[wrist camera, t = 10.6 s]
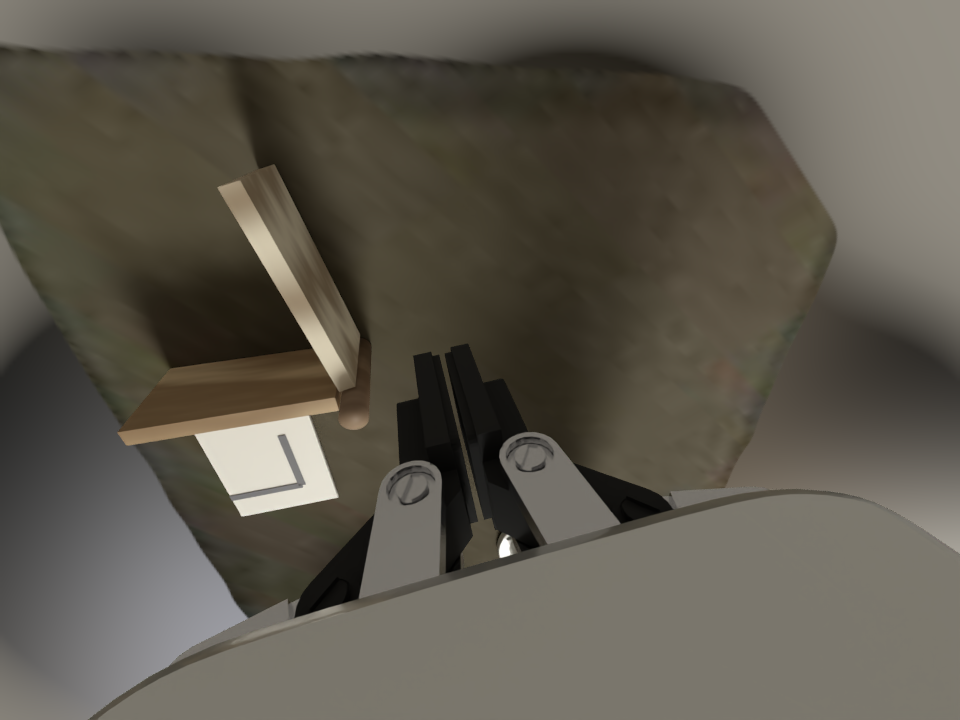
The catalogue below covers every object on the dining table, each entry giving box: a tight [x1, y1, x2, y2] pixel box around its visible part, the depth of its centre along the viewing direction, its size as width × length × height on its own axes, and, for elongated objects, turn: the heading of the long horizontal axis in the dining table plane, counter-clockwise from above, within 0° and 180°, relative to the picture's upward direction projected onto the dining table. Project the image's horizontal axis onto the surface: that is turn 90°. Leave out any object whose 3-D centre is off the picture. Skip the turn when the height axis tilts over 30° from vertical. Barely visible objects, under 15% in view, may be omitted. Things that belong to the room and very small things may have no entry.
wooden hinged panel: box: [118, 338, 371, 446], centre depth 30 cm, size 2×16×10 cm, turn 92°
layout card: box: [195, 415, 339, 516], centre depth 40 cm, size 12×10×1 cm
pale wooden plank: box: [217, 164, 360, 392], centre depth 28 cm, size 14×1×8 cm, turn 14°
